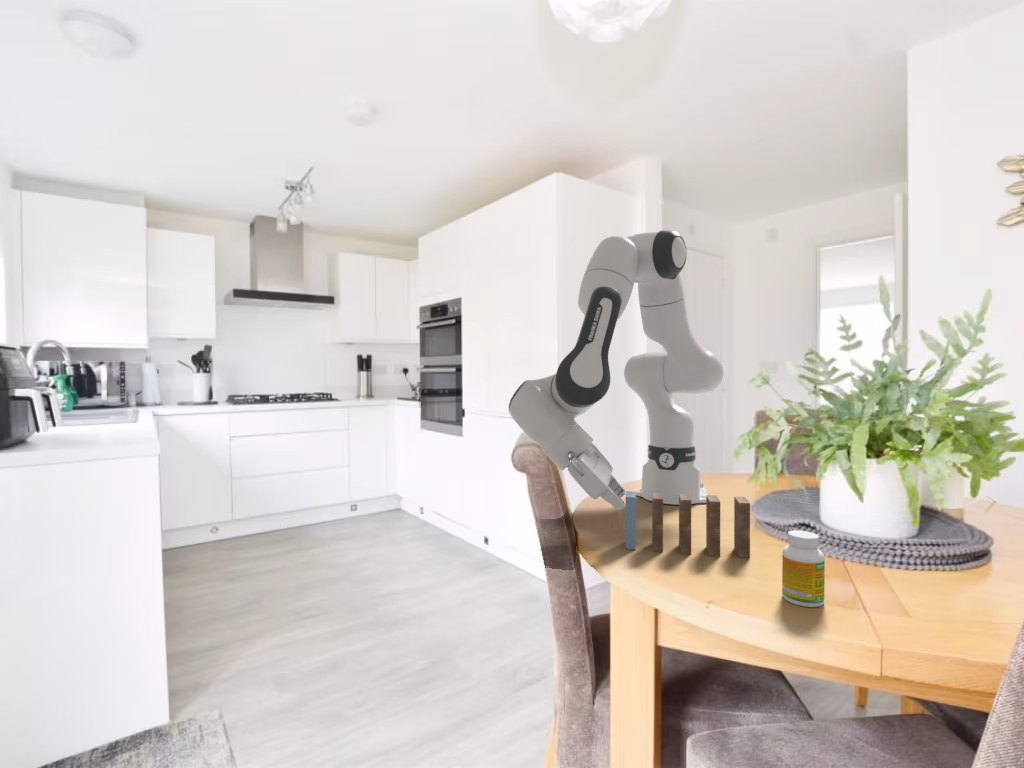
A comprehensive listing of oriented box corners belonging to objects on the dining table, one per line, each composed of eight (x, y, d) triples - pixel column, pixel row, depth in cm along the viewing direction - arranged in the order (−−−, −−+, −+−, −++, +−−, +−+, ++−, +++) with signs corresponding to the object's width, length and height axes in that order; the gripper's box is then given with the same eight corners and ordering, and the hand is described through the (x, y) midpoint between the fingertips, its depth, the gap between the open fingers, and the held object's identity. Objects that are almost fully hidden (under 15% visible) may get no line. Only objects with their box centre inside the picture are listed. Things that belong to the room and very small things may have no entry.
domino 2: (652, 551, 97) (652, 498, 97) (652, 543, 102) (652, 492, 102) (662, 552, 97) (662, 498, 97) (661, 543, 102) (661, 493, 101)
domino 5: (739, 558, 94) (739, 502, 94) (734, 548, 99) (734, 496, 98) (749, 558, 93) (750, 503, 93) (744, 549, 98) (744, 496, 98)
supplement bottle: (821, 611, 72) (822, 542, 72) (779, 601, 76) (779, 535, 76) (826, 598, 77) (826, 532, 77) (785, 589, 80) (786, 526, 80)
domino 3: (680, 553, 96) (681, 499, 96) (678, 545, 101) (678, 493, 101) (691, 554, 96) (691, 500, 95) (688, 545, 100) (688, 494, 100)
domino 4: (709, 555, 95) (709, 501, 95) (706, 546, 100) (706, 495, 100) (720, 556, 94) (720, 501, 94) (716, 547, 99) (716, 495, 99)
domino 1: (625, 549, 99) (625, 496, 98) (626, 541, 103) (626, 491, 103) (635, 550, 98) (635, 497, 98) (635, 541, 103) (635, 491, 103)
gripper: (577, 445, 92) (633, 503, 90) (587, 432, 112) (634, 479, 110) (552, 469, 93) (607, 527, 91) (567, 452, 113) (613, 499, 111)
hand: (622, 501), depth 101 cm, fingers open, 8 cm apart
